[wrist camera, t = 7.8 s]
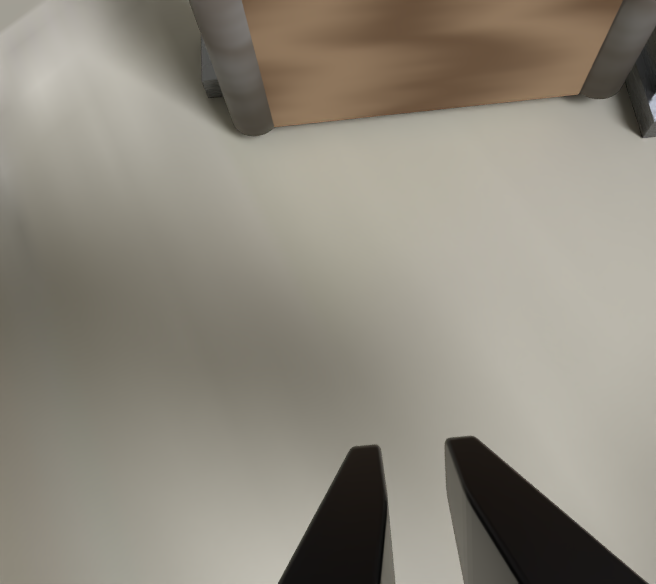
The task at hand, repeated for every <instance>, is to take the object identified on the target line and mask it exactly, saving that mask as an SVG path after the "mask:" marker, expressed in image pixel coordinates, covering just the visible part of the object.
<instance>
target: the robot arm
mask: <svg viewBox="0 0 656 584" xmlns="http://www.w3.org/2000/svg"><path fill="white" fill-rule="evenodd" d="M445 471H446V490H447V497H448V503H449V508H450V513H451V519H452V524H453V529H454V534H455V539H456V544H457V550H458V555H459V560H460V565H461V570H462V575H463V580H464V584H648V583H647V582H646V581H645V580H644V579H642V578H641V577H640V576H639V575H638V574H636V573H635V572H634V571H633V570H632V569H631V568H629V567H628V566H627V565H626V564H625V563H623V562H622V561H621V560H620V559H619V558H618V557H616V556H615V555H614V554H613V553H612V552H611V551H609V550H608V549H607V548H606V547H605V546H603V545H602V544H601V543H600V542H599V541H598V540H596V539H595V538H594V537H593V536H592V535H591V534H589V533H588V532H587V531H586V530H585V529H583V528H582V527H581V526H580V525H579V524H578V523H576V522H575V521H574V520H573V519H572V518H571V517H569V516H568V515H567V514H566V513H565V512H563V511H562V510H561V509H560V508H559V507H558V506H556V505H555V504H554V503H553V502H552V501H550V500H549V499H548V498H547V497H546V496H545V495H543V494H542V493H541V492H540V491H539V490H538V489H536V488H535V487H534V486H533V485H532V484H530V483H529V482H528V481H527V480H526V479H525V478H523V477H522V476H521V475H520V474H519V473H518V472H516V471H515V470H514V469H513V468H512V467H510V466H509V465H508V464H507V463H506V462H505V461H503V460H502V459H501V458H500V457H499V456H497V455H496V454H495V453H494V452H493V451H492V450H490V449H489V448H488V447H487V446H486V445H485V444H483V443H482V442H481V441H480V440H479V439H477V438H476V437H474V436H462V437H452V438H448V439H446V441H445ZM278 584H395V574H394V563H393V552H392V541H391V530H390V519H389V508H388V497H387V489H386V482H385V474H384V467H383V460H382V453H381V448H380V447H379V446H378V445H364V446H355V447H352V448H351V449H350V451H349V452H348V454H347V456H346V458H345V460H344V462H343V463H342V465H341V467H340V469H339V471H338V473H337V475H336V476H335V478H334V480H333V482H332V484H331V486H330V488H329V489H328V491H327V493H326V495H325V497H324V499H323V501H322V502H321V504H320V506H319V508H318V510H317V512H316V514H315V515H314V517H313V519H312V521H311V523H310V525H309V527H308V528H307V530H306V532H305V534H304V536H303V538H302V540H301V541H300V543H299V545H298V547H297V549H296V551H295V553H294V554H293V556H292V558H291V560H290V562H289V564H288V566H287V567H286V569H285V571H284V573H283V575H282V577H281V579H280V580H279V582H278Z"/></svg>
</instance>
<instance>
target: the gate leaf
mask: <svg viewBox="0 0 656 584" xmlns="http://www.w3.org/2000/svg"><path fill="white" fill-rule="evenodd" d="M189 2H190V4H191V7H192V10H193V13H194V16H195V18H196V21H197V24H198V27H199V29H200V32H201V35H202V38H203V41H204V43H205V46H206V49H207V52H208V55H209V57H210V60H211V63H212V66H213V68H214V71H215V74H216V77H217V80H218V82H219V85H220V88H221V91H222V94H223V96H224V99H225V102H226V105H227V107H228V110H229V113H230V116H231V119H232V121H233V124H234V126H235V128H236V129H237V130H238V131H239V132H241V133H243V134H245V135H249V136H259V135H263V134H265V133H267V132H269V131H271V130H272V129H273V128H274V127H280V126H289V125H299V124H308V123H317V122H327V121H336V120H345V119H355V118H364V117H373V116H383V115H392V114H401V113H410V112H420V111H429V110H438V109H448V108H457V107H466V106H476V105H485V104H494V103H504V102H513V101H522V100H532V99H541V98H550V97H559V96H569V95H578V94H579V92H580V93H581V94H583V95H585V96H587V97H590V98H594V99H605V98H609V97H611V96H613V95H615V94H616V93H617V92H618V91H619V90H620V89H621V87H622V85H623V84H624V82H625V80H626V78H627V76H628V75H629V73H630V71H631V69H632V68H633V66H634V64H635V62H636V60H637V59H638V57H639V55H640V53H641V52H642V50H643V48H644V46H645V44H646V43H647V41H648V39H649V37H650V36H651V34H652V32H653V30H654V28H655V27H656V0H189Z"/></svg>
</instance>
